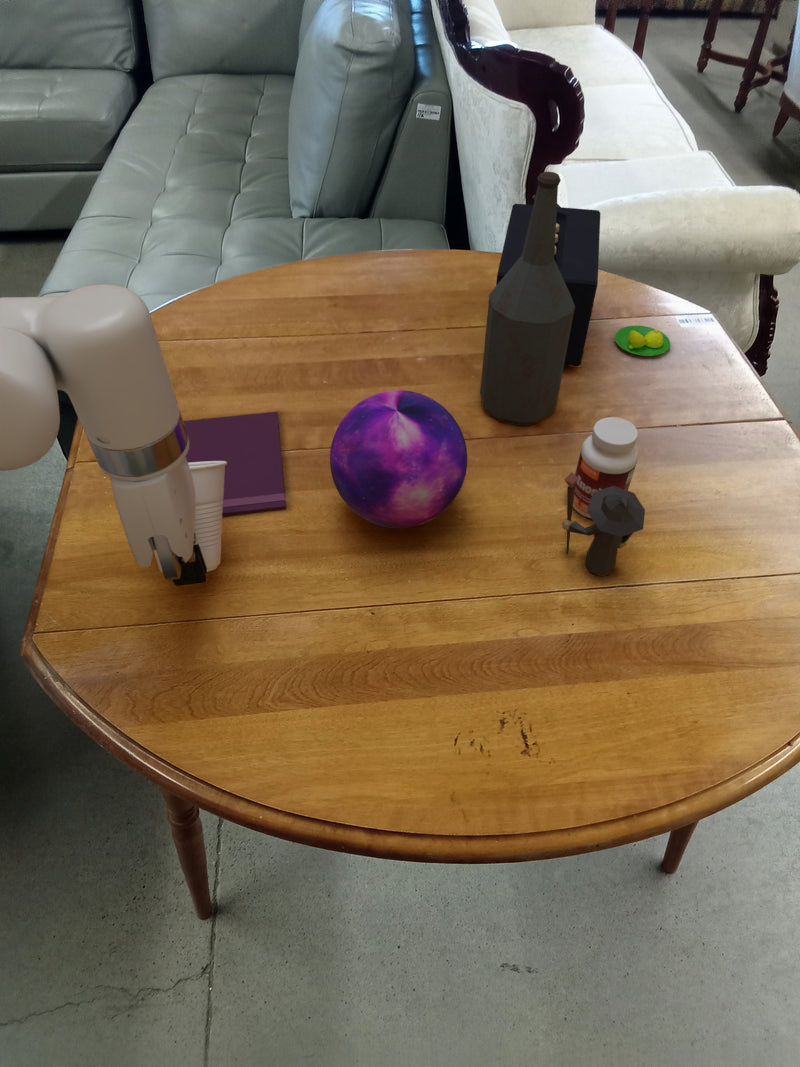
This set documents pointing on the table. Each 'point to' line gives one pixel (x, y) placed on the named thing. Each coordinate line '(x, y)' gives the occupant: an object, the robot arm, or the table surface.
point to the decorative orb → (398, 459)
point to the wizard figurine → (605, 524)
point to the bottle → (528, 323)
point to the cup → (208, 509)
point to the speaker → (564, 263)
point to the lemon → (642, 340)
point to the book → (242, 459)
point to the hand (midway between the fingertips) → (191, 578)
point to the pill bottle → (605, 460)
